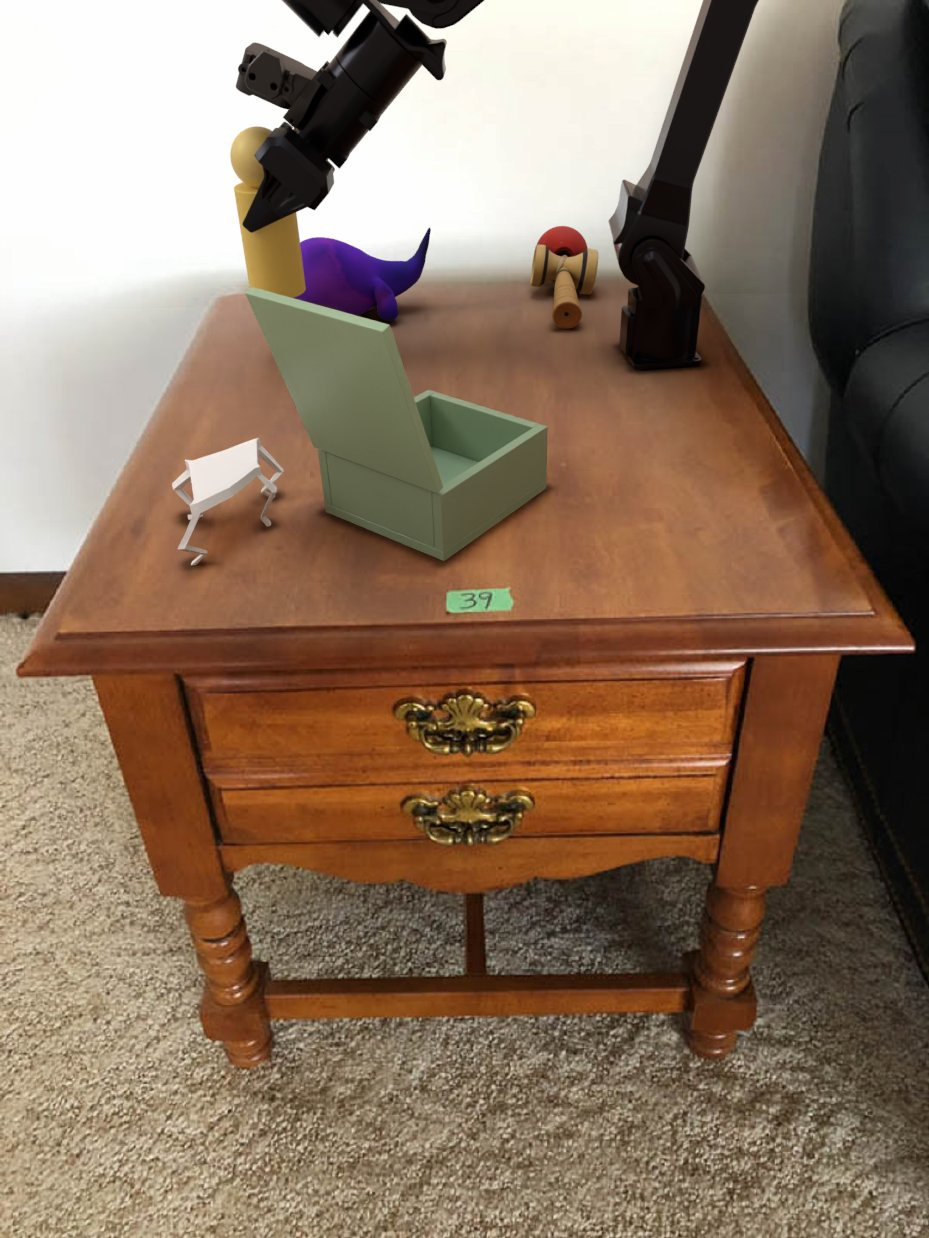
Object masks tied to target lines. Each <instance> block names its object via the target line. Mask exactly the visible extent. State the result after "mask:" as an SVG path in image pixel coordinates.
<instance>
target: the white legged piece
mask: <svg viewBox="0 0 929 1238" xmlns="http://www.w3.org/2000/svg"><path fill="white" fill-rule="evenodd" d="M260 458H261V459H262V460H263V461H264V462H265V463H266V464H268V465H269V466H270V467H271V469H273V470H274V471H275V473H273V475H272V476H271V478H270V479H268V478H267V477H266V476H265V475H264V474H263V473H262V469H261V466H260ZM184 463H185V467H186V469H185V470H184V471H183V472H182V473H181V474H180V475H179V476H178V477H177V478H175V480H174V481H173V482H172V483H171V486H172V490H173V491H174V492H175V494H176V495H178V497H179V498H181V499H182V501H184V503H185V504H187V506H188V507H189V509H190V514H187V519H188V521H189V523H188V525H187V528H186V530H185V532H184V534H183V537H182V539H181V540H180V542H179V544H178V546H177V550H178V551H183V552H187V553H192V554H197V555H198V556H197V557H195V558H194V559H193V560H192V561H191V563H190V566H196V565H198V564H199V563H200V562H201V561H202V560H203V558H205V556H206V555H208V550H206V549H203V548H200V547H196V546H193V545H190V544H188V543H189V541H190V538H191V536H192V534H193V531H194V530H195V528H196V526H197V524H198V522H199V521H200V518H203V517H204V513H203V512H205V511H207V510H209V509H212V508H214V507H215V506H217V505H219V504H221V503H223V502H225V501H228V500H229V499H231V498H233V497H234V496H235V495H237V494H238V493H240V492H241V491H242V490H243V489H244V488H246V486H248V485H249V484H250V483H252V481H253V480H255V479H256V478H258V479H259V481H261V482H262V484H263V485H264V486H263V487H262V489H261V490H260V493H261V494H262V495H264V496H265V497H268V498H267V500H266V503H265V505H264V507H263V510H262V512H261V515H260V520H261V521H262V522H263V524H264V525H265V526H266V527H271V526H272V521H271V520H270V519H269V518H268V517H267V516H266V513H267V511H268V510H269V507H271V504H272V502H273V500H274V499H276V495H277V493H278V487H277V486H276V485H275V484H274V483H275V482H276V481H277V479H279V478H280V477H281V476H282V475H283V473H284V471H285V469H284V468H283V467H282V465H280V463H278V462H277V460H276V459H275V458H274V457H273V456H272V455H271V454H270V452H268V451H267V449H265V447H264V446H263V445H262V442H261V438H260V437H257V438H253V439H250V440H247V441H244V442H242V443H239V444H236V445H234V446H231V447H229V448H226V449H224V450H220V451H217V452H214V453H212V454H208V455H204V456H202V457H199V458H196V459H184ZM189 483H191V489H192V496H193V499H192V498H191V496H190V495H189V494H188V493H187V492H186V490H185V489H184V487H186V486H187V485H188V484H189ZM268 490H269V491H268Z"/></svg>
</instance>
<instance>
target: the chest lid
mask: <svg viewBox="0 0 929 1238" xmlns="http://www.w3.org/2000/svg"><path fill="white" fill-rule="evenodd" d="M244 294H245V297H246V299H247V301H248V303H249V306H250V307H251V310H252V313H253V314H254V316H255V319H256V321H257V323H258V325H259V328H260V330H261V332H262V334H263V337H264V339H265V341H266V344H267V346H268V348H269V350H270V352H271V355H272V357H273V359H274V362H275V364H276V366H277V368H278V371H279V373H280V375H281V377H282V379H283V382H284V383H285V386H286V388H287V391H288V393H289V395H290V398H291V399H292V401H293V403H294V406H295V408H296V410H297V413H298V415H299V417H300V419H301V422H302V424H303V426H304V428H305V431H306V433H307V435H308V437H309V439H310V442H311V444H312V446H313V448H315V449H317V450H318V449H320V450H323V451H325V452H328V453H331V454H333V455H336V456H339V457H341V458H344V459H347V460H349V461H352V462H355V463H357V464H360V465H363V466H365V467H368V468H371V469H373V470H376V471H379V472H381V473H384V474H387V475H389V476H392V477H395V478H397V479H400V480H403V481H405V482H408V483H411V484H413V485H416V486H419V487H421V488H424V489H427V490H429V491H432V492H435V493H438V492H439V491H440V490H441V489H442V488H443V484H442V481H441V478H440V475H439V472H438V469H437V466H436V463H435V460H434V457H433V454H432V451H431V448H430V445H429V442H428V439H427V436H426V433H425V430H424V427H423V424H422V421H421V418H420V415H419V412H418V409H417V406H416V403H415V400H414V397H415V396H414V394H413V391H412V388H411V385H410V383H409V382H410V381H409V379H408V376H407V373H406V369H405V367H404V363H403V360H402V357H401V354H400V352H399V349H398V346H397V343H396V340H395V336H394V333H393V330H392V327H391V325H390V324H388V323H385V322H382V321H378V320H374V319H370V318H367V317H363V316H361V315H358V316H356V315H352V314H349V313H345V312H341V311H338V310H334V309H331V308H327V307H323V306H320V305H316V304H312V303H309V302H305V301H301V300H298V299H294V298H290V297H287V296H283V295H280V294H276V293H272V292H269V291H265V290H261V289H258V288H254V287H251V288H250V287H249V288H248V290H246V292H245V293H244Z"/></svg>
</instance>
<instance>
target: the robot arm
mask: <svg viewBox="0 0 929 1238" xmlns="http://www.w3.org/2000/svg"><path fill="white" fill-rule="evenodd" d="M281 1H282V2H283V4H285V5H286V6H287V7H288V8H289V10H290V11H292V12H293V13H294V15H296V16H297V18H299V19H300V21H302V22H303V23H304V24H305V25H306V26H307V28H309V29H310V30H311V31H312V32H313V33H314V34H315V35H316V36H317V38H320V37H321V36H322V35H323V34H324V33H325V34H326V35H327V36H329V35H330V34H331V33H332V34H333V36H335V38H339V37H340V35H341V34H342V33H343V32H344V30H345V29H346V28H347V26H348V25H349V23H351V21H352V20H353V19H354V17H355V16H356V14H357V13H358V12H359V11H360V9H361V8H362V7H363V5H364V6H365V8H366V9H368V12H367V14H366V15H365V16H364V17H363V18H362V20H361V21H360V22H359V24H358V26H357V27H356V28H355V29H354V30H353V31H352V34H351V35H350V36H349V37H348V38H347V40H346V41H345V42H344V43H343V45H342V46H341V48H340V49H339V50H338V51H337V53H336V54H335V56H334V57H333V58H332V60H331V61H330V62H329V61H328V60H326V61H325V62H324V64H323V65H322V66H321V67H320V68H319V69H318V70H316V69H314V68H311V67H309V66H307V65H305V64H304V63H303V62H301V61H299V60H297V59H294V58H293V57H290V56H288V55H286V54H284V53H283V52H279V51H278V50H276V49H273V48H272V47H270V46H268V45H265V44H262V43H260V42H252V43H250V44H249V45H247V47H245V50H244V53H243V56H242V59H241V63H240V64H239V65H238V67H237V72H238V76H237V79H236V83H235V89H236V90H237V91H238V92H240V93H242V94H244V95H246V96H249V97H250V96H255V97H256V98H259V99H261V100H263V101H265V102H267V103H270V104H271V105H274V106H276V107H278V108H281V109H284V110H287V111H286V112H285V113H284V115H283V116H282V118H283V119H284V121H283V122H282V123H281V124H280V125H279V127H275V128H274V129H273V130H271V131H272V132H271V134H270V135H269V136H268V137H267V138H266V140H265V141H264V142H263V144H262V145H261V146H260V148H259V149H258V150H257V152H256V153H255V154H254V156H255V158H256V159H257V161H258V162H259V163H260V164H261V165H262V166H263V171H264V178H263V180H262V182H261V185H260V187H259V189H258V191H257V193H256V195H255V198H254V200H253V202H252V204H251V206H250V208H249V210H248V212H247V215H246V217H245V219H244V221H243V226H244V227H245V228H246V229H247V230H248V231H249V232H251V233H253V232H255V231H257V230H259V229H261V228H263V227H265V226H267V225H270V224H272V223H274V222H276V221H278V220H280V219H282V218H284V217H286V216H289V215H291V214H293V213H295V212H296V213H298V212H300V211H302V210H304V209H306V208H308V209H311V210H312V211H316V210H317V208H318V207H320V205H321V204H322V202H323V201H324V200H325V199H326V197H327V196H328V195H329V194H330V192H331V190H332V188H333V186H334V184H335V177H334V176H335V175H334V173H335V171H336V168H335V167H334V165H335V166H336V167H337V168H338V169H341V167H343V165H344V164H346V162H347V161H348V158H349V157H350V155H351V153H352V152H353V151H354V149H355V148H356V147H357V146H358V144H359V143H360V142H361V141H362V140H363V139H364V137H366V135H367V134H368V133H369V132H371V131H372V130H373V128H374V127H375V126H376V125H377V124H378V122H379V120H380V118H381V117H382V116H383V114H384V112H386V110H387V109H388V108H389V106H390V105H392V103H393V102H394V100H395V99H396V98H397V97H398V96H399V94H400V93H401V92H402V91H403V90H404V88H405V87H406V86H407V84H408V83H409V82H410V81H411V79H412V78H413V77H414V76H415V75H416V74H417V72H418V71H419V70H420V69H421V67H424V69H426V71H427V72H428V73H429V74H430V75H431V76H432V77H433V78H434V79H435V80H436V81H442V80H443V79H444V77H445V73H446V70H447V67H446V60H445V54H446V53H445V51H446V47H447V44H448V42H447V39H445V38H439V39H432V38H430V37H429V36H428V34H426V33H425V32H424V31H423V29H422V28H421V27H420V26H419V25H418V24H417V23H416V22H415V21H414V20H413V19H412V18H411V17H410V16H409V14H407V13H406V14H405V15H403V16H402V18H401V19H400V20H398V18H397V17H395V16H394V15H393V14H392V13H391V12H390V11H389V10H388V9H387V8H386V7H385V6H384V5H386V6H392V7H396V8H402V9H406V10H408V11H409V13H410V14H411V15H412V17H413V18H415V19H416V20H417V21H418V22H419V23H421V24H422V25H425V26H427V27H430V28H432V29H437V30H440V29H446V28H449V27H451V26H455V25H457V24H458V23H459V22H461V21H462V20H463V19H465V17H466V16H468V15H469V14H470V13H471V12H472V11H474V10H475V9H476V8H477V7H478V6H480V5H481V4H482V3H483V2H485V0H281ZM759 1H760V0H702V3H701V6H700V8H699V12H698V15H697V17H696V21H695V24H694V27H693V30H692V33H691V36H690V39H689V42H688V46H687V49H686V51H685V55H684V58H683V61H682V64H681V67H680V70H679V73H678V76H677V79H676V83H675V86H674V89H673V92H672V94H671V98H670V101H669V104H668V107H667V110H666V113H665V116H664V119H663V122H662V125H661V128H660V132H659V135H658V138H657V141H656V144H655V147H654V149H653V153H652V156H651V159H650V162H649V164H648V166H647V168H646V170H645V171H644V172H643V174H642V175H641V177H640V179H639V180H638V182H637V183H636V184H635V183H633V182H631V181H629V180H627V179H622V180H621V184H620V191H619V198H618V202H617V206H616V209H615V211H614V213H613V214H612V216H610V218H609V219H608V226H609V229H610V234H611V237H612V244H613V249H614V252H615V256H616V260H617V264H618V267H619V269H620V272H621V274H622V275H623V277H624V278H625V279H626V280H627V281H628V282H630V284H633V285H635V286H636V287H629V288H628V289H627V290H628V292H627V304H625V305H622V307H621V311H620V329H619V343H618V344H619V348H620V349H621V351H622V353H623V355H624V356H625V357H627V359H628V361H629V363H631V366H632V368H633V369H636V370H648V369H660V368H673V367H687V366H698V365H701V364H702V357H701V356H700V355H699V354H698V352H697V347H698V335H699V327H700V318H701V309H702V302H703V301H702V299H703V293H704V292H705V288H706V285H705V282H704V280H703V278H702V275H701V273H700V272H699V269H698V266H697V264H696V263H695V260H694V258H693V255H692V253H690V252H689V251H688V250H687V249H686V244H687V238H688V233H689V227H690V226H689V225H690V221H691V220H690V219H691V210H692V209H691V207H692V198H693V197H692V196H693V188H694V184H695V183H694V182H695V181H696V176H697V174H698V171H699V168H700V165H701V163H702V160H703V157H704V154H705V151H706V149H707V146H708V143H709V139H710V137H711V134H712V131H713V129H714V126H715V124H716V123H715V122H716V120H717V117H718V115H719V112H720V109H721V105H722V103H723V100H724V98H725V94H726V92H727V89H728V86H729V83H730V80H731V78H732V74H733V72H734V69H735V65H736V63H737V61H738V57H739V55H740V52H741V49H742V46H743V43H744V40H745V38H746V36H747V32H748V30H749V26H750V24H751V21H752V18H753V16H754V13H755V9H756V7H757V5H758V3H759ZM333 164H334V165H333Z"/></svg>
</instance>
